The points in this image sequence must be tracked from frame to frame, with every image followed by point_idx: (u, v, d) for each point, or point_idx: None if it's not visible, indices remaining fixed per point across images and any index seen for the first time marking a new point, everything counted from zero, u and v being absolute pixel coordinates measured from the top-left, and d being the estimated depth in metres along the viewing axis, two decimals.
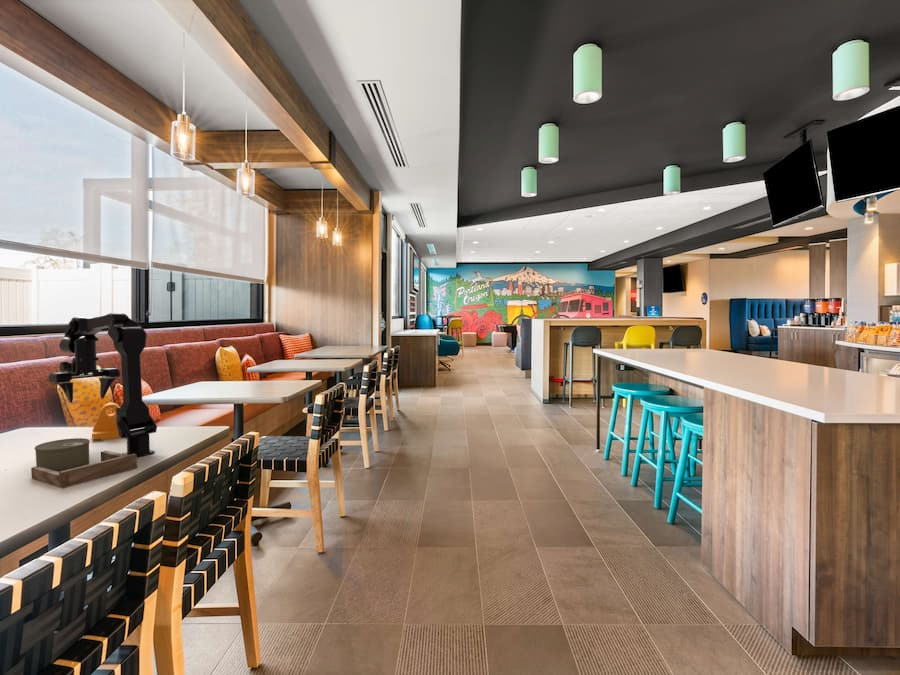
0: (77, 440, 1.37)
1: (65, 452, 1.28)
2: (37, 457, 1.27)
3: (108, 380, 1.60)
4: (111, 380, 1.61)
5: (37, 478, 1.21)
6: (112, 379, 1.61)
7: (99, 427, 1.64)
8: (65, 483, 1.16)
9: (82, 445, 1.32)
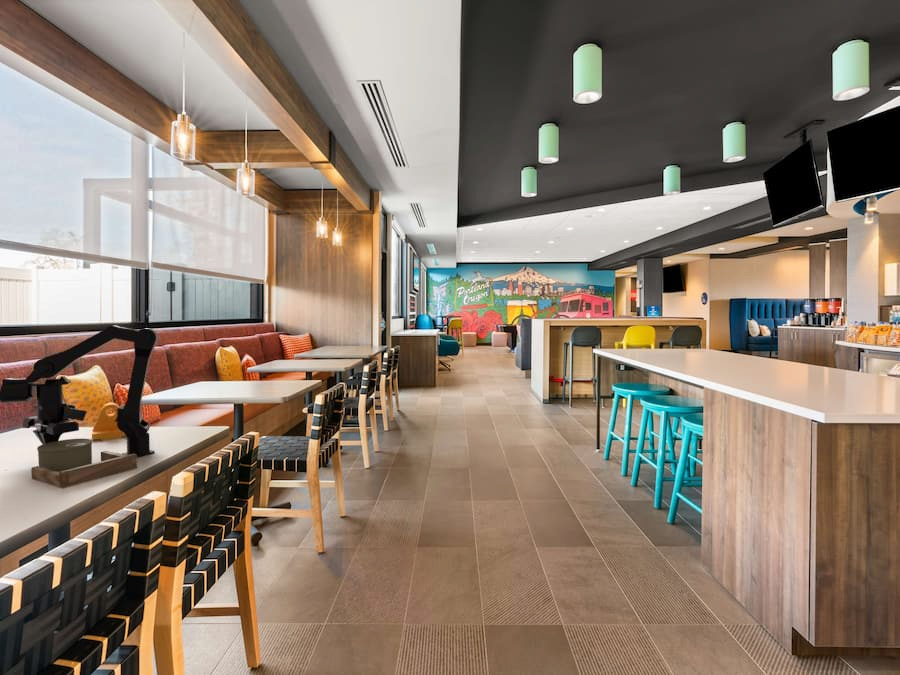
0: (79, 440, 1.36)
1: (68, 453, 1.27)
2: (40, 457, 1.26)
3: (40, 434, 1.32)
4: (42, 435, 1.32)
5: (37, 478, 1.21)
6: (41, 434, 1.31)
7: (99, 427, 1.64)
8: (65, 483, 1.16)
9: (85, 445, 1.31)
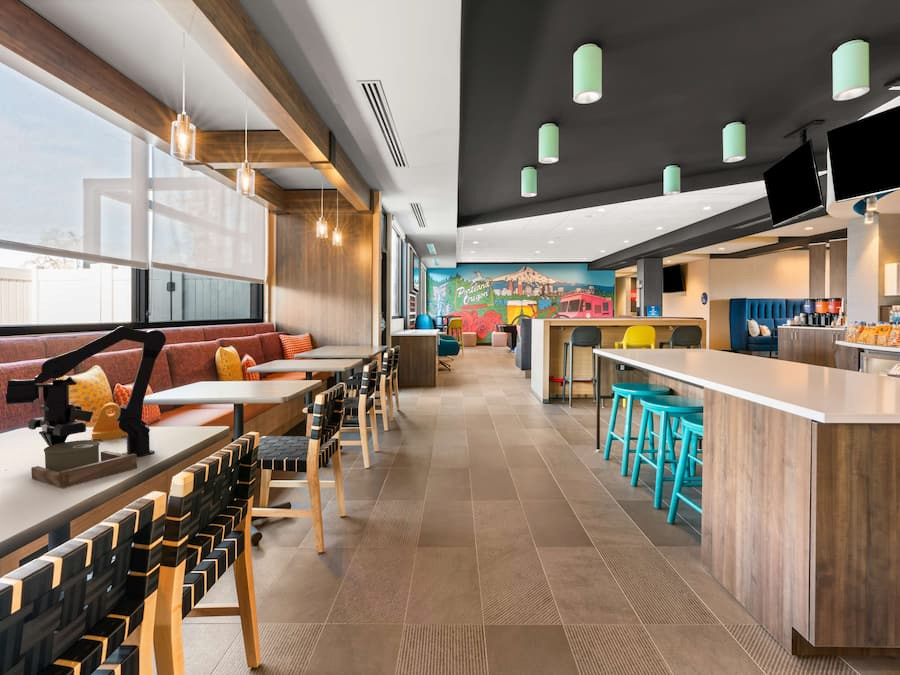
0: (86, 442, 1.34)
1: (76, 455, 1.26)
2: (47, 459, 1.24)
3: (46, 435, 1.30)
4: (48, 436, 1.30)
5: (37, 478, 1.21)
6: (48, 435, 1.30)
7: (99, 427, 1.64)
8: (65, 483, 1.16)
9: (92, 447, 1.29)
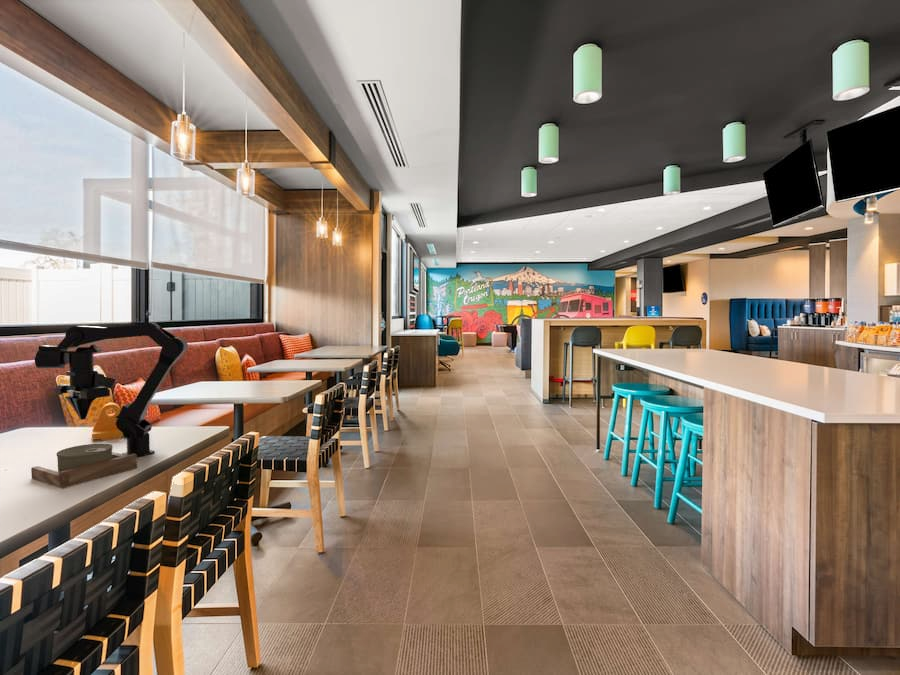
0: (99, 445, 1.31)
1: (89, 459, 1.22)
2: (60, 464, 1.21)
3: (73, 400, 1.37)
4: (74, 400, 1.36)
5: (37, 478, 1.21)
6: (74, 399, 1.36)
7: (99, 427, 1.64)
8: (65, 483, 1.16)
9: (106, 451, 1.26)
